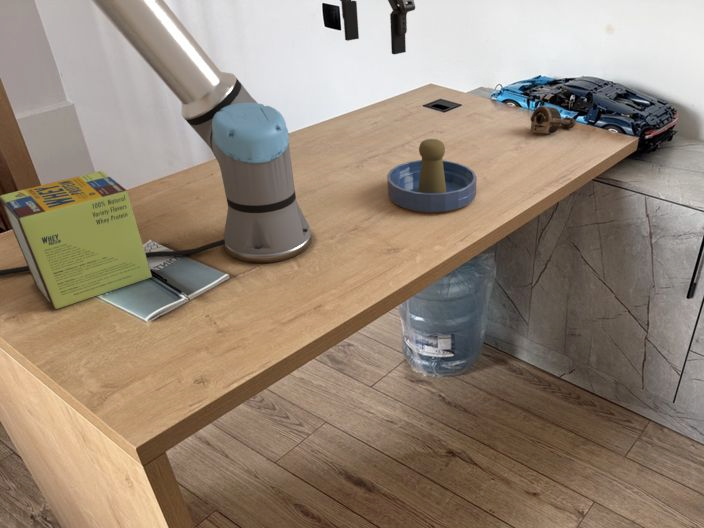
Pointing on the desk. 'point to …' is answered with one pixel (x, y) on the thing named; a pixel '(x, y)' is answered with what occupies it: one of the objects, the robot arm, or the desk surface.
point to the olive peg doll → (432, 167)
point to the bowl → (407, 196)
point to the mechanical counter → (549, 120)
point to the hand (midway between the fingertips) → (374, 46)
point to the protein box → (77, 237)
